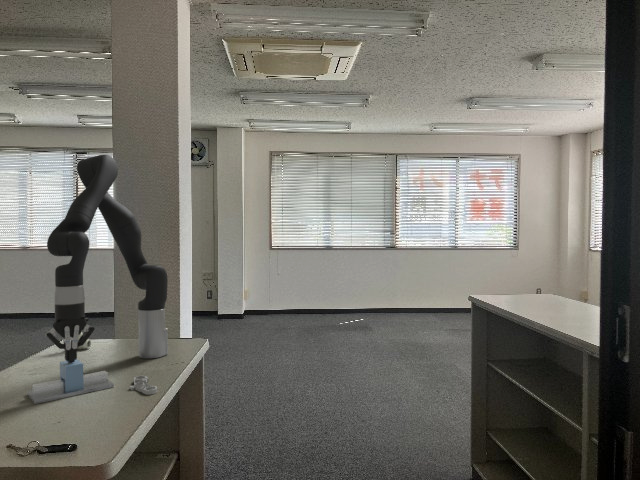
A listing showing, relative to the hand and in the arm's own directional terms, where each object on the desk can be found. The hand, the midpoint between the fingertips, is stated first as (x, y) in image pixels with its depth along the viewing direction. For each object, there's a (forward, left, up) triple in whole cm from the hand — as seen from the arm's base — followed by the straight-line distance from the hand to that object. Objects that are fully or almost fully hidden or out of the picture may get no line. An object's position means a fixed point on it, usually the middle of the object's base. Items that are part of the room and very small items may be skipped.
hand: (70, 361), depth 133 cm
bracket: (-17, +11, -9) cm, 22 cm away
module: (0, 0, -7) cm, 7 cm away
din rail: (0, 0, -8) cm, 8 cm away
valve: (-15, -51, -8) cm, 54 cm away
